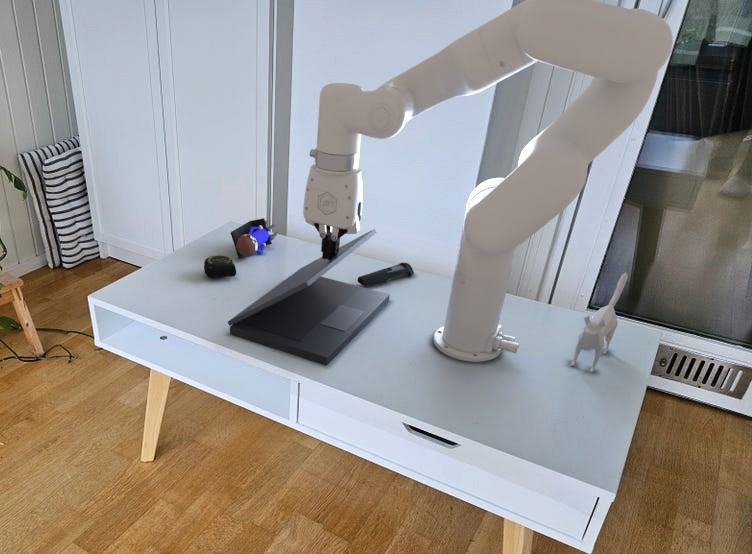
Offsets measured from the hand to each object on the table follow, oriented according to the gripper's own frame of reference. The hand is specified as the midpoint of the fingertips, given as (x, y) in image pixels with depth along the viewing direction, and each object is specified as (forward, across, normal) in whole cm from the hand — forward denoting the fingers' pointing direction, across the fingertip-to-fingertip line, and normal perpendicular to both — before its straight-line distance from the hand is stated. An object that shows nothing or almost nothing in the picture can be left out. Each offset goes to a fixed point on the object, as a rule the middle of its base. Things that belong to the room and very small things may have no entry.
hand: (329, 257), depth 121 cm
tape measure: (+14, -30, +6) cm, 33 cm away
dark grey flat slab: (+14, -3, 0) cm, 14 cm away
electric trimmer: (+14, +3, +25) cm, 29 cm away
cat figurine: (+14, +48, +15) cm, 52 cm away
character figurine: (+14, -31, +22) cm, 40 cm away
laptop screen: (+6, -5, 0) cm, 7 cm away
